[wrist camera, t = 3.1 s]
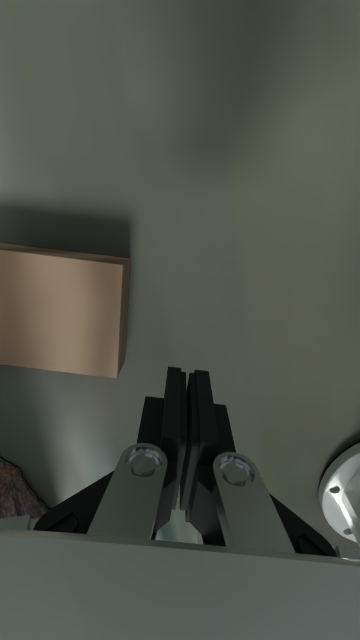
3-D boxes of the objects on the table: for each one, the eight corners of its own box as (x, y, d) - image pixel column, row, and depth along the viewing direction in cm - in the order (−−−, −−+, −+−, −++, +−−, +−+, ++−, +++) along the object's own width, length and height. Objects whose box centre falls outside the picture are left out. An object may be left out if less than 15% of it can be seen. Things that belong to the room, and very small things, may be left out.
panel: (131, 257, 21) (123, 264, 18) (125, 358, 24) (116, 378, 21) (-68, 232, 21) (-108, 236, 18) (-51, 337, 24) (-84, 354, 21)
